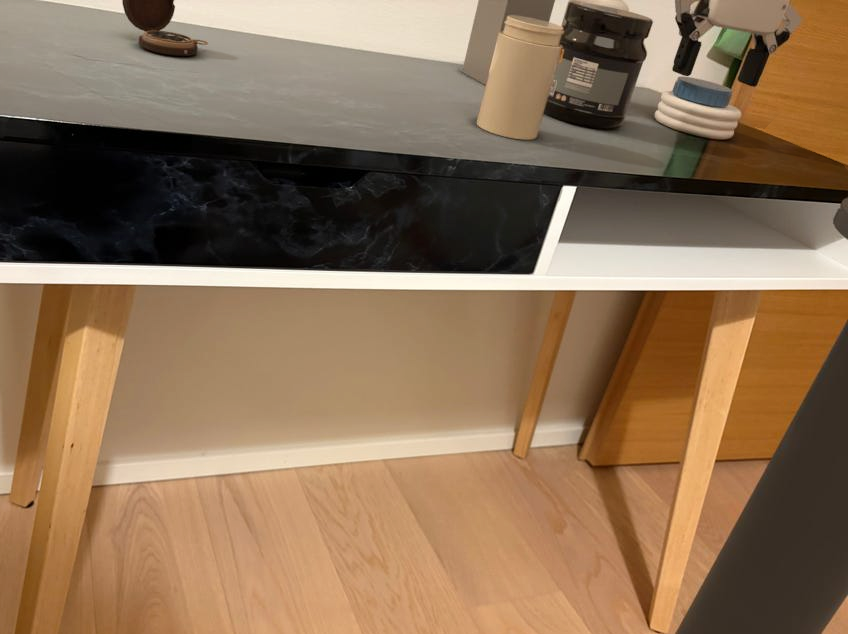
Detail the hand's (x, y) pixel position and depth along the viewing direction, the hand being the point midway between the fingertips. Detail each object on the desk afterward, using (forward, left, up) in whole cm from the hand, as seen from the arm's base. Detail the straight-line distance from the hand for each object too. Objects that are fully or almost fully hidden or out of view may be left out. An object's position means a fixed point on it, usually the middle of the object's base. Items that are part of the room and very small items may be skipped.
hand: (713, 78), depth 100 cm
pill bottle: (+11, +12, -7) cm, 18 cm away
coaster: (0, 0, -7) cm, 7 cm away
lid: (+1, 0, -1) cm, 2 cm away
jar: (-13, +32, -6) cm, 35 cm away
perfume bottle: (+12, +23, -7) cm, 27 cm away
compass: (+3, +65, -7) cm, 65 cm away
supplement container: (-3, +18, -7) cm, 19 cm away
